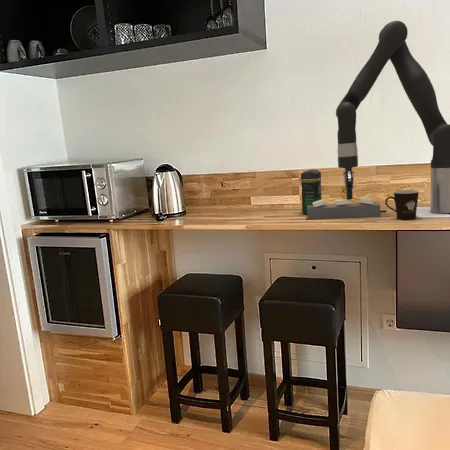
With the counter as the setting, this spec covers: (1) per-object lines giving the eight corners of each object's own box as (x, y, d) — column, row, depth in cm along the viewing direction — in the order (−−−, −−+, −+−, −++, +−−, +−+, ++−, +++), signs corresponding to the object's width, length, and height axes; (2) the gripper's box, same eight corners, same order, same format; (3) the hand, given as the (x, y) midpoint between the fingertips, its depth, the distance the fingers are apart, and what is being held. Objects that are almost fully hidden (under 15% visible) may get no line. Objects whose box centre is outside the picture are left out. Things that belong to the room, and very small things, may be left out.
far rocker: (326, 202, 195) (325, 198, 194) (326, 203, 191) (325, 199, 191) (313, 206, 196) (312, 202, 196) (313, 207, 192) (312, 203, 192)
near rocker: (371, 203, 192) (372, 199, 191) (372, 204, 188) (373, 200, 188) (358, 200, 192) (359, 196, 192) (359, 202, 189) (360, 197, 188)
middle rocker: (349, 202, 193) (348, 198, 193) (349, 203, 190) (349, 199, 189) (335, 203, 194) (335, 199, 194) (336, 205, 191) (335, 201, 190)
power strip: (384, 212, 195) (384, 200, 194) (387, 216, 187) (387, 203, 186) (307, 216, 201) (307, 204, 200) (307, 219, 193) (306, 207, 192)
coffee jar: (318, 215, 201) (316, 170, 198) (300, 215, 205) (298, 171, 201) (324, 211, 210) (322, 168, 206) (307, 211, 213) (304, 168, 210)
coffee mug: (418, 216, 183) (418, 189, 181) (419, 220, 175) (419, 193, 173) (385, 216, 187) (385, 191, 185) (385, 221, 179) (385, 194, 177)
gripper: (359, 155, 181) (361, 200, 184) (356, 153, 193) (357, 196, 197) (338, 156, 182) (340, 202, 185) (336, 154, 195) (339, 197, 198)
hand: (349, 198), depth 191 cm, fingers closed
